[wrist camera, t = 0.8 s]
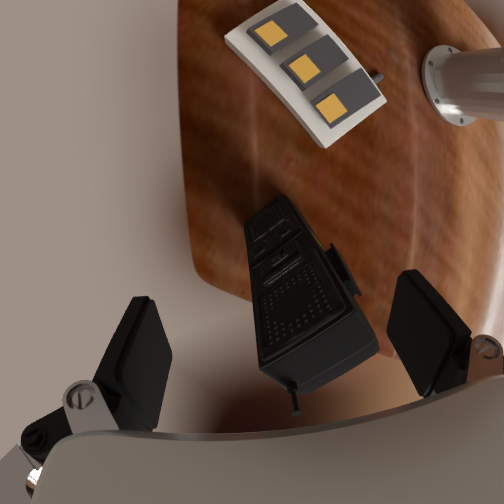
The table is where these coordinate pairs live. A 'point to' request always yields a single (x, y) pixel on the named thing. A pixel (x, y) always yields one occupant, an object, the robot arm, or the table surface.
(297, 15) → the rocker far end
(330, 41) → the rocker middle
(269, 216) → the portable radio
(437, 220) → the table surface
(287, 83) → the rocker switch panel
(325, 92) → the rocker near arm
